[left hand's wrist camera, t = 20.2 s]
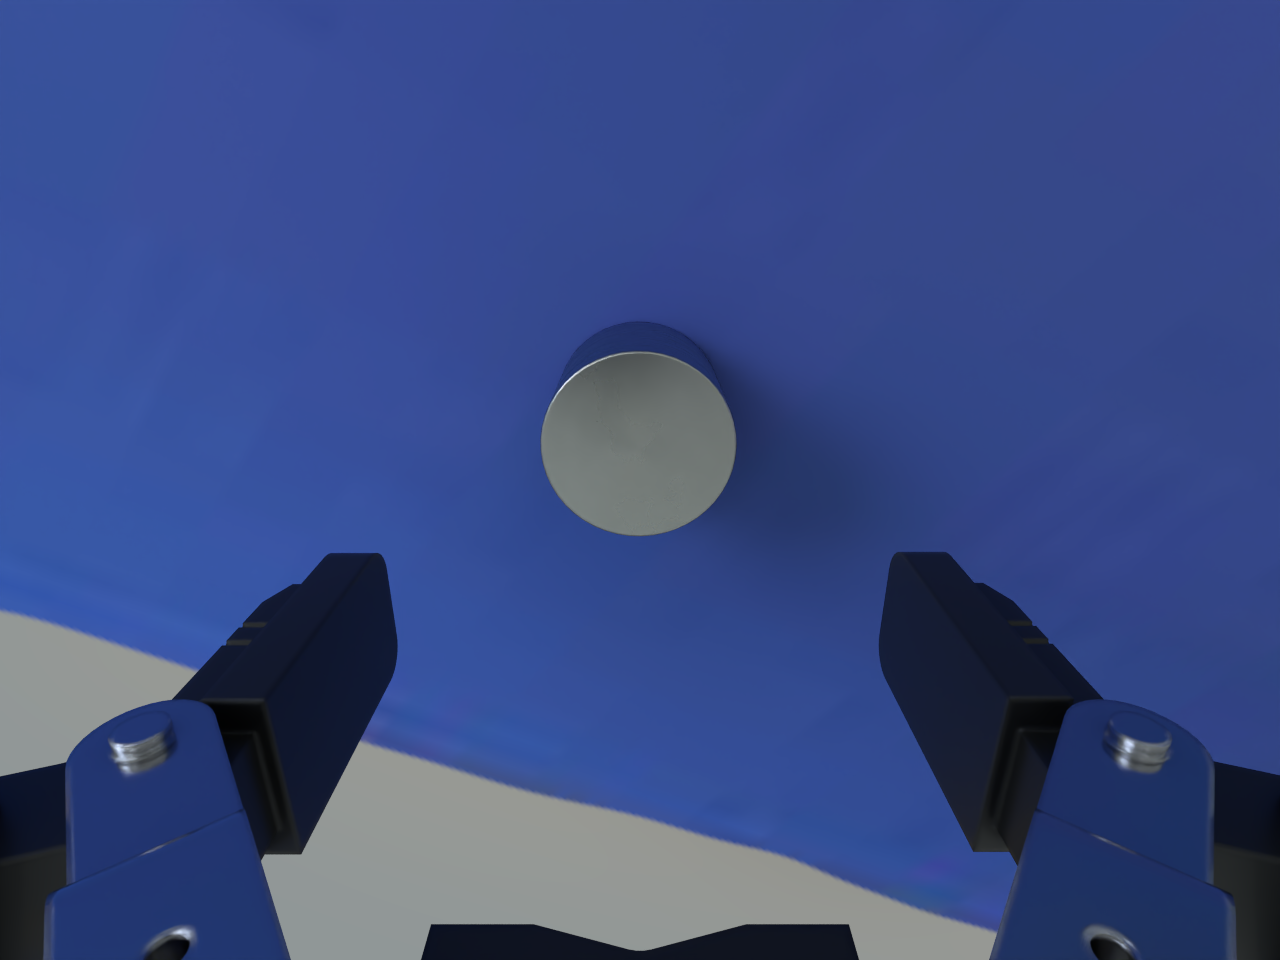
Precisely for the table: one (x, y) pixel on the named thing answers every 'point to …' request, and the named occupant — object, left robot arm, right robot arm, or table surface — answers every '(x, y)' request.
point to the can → (638, 431)
